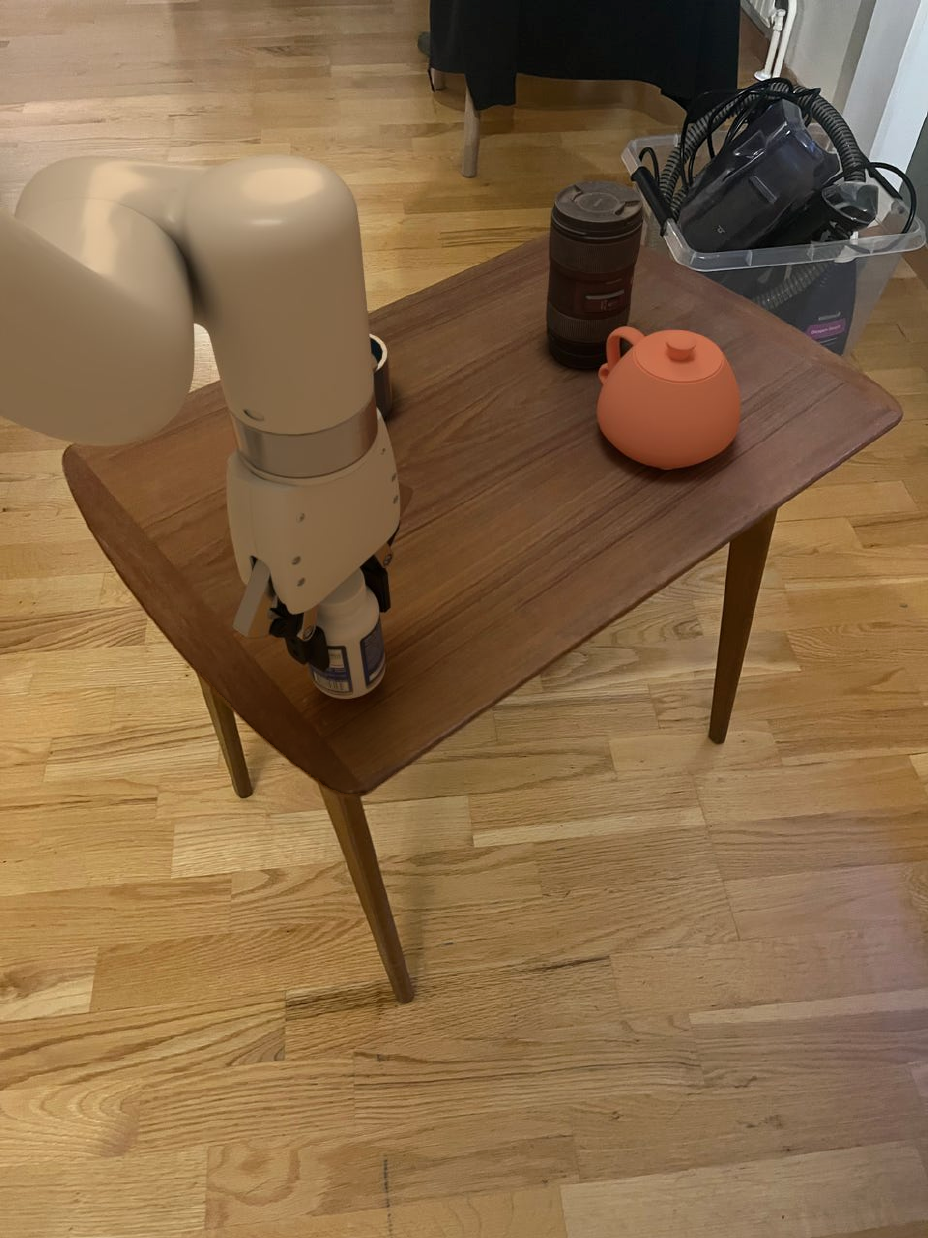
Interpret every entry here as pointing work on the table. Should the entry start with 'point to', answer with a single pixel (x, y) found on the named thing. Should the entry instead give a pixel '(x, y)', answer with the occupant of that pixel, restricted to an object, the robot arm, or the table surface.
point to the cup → (382, 376)
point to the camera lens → (591, 268)
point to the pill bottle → (350, 640)
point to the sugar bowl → (667, 398)
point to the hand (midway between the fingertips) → (340, 628)
